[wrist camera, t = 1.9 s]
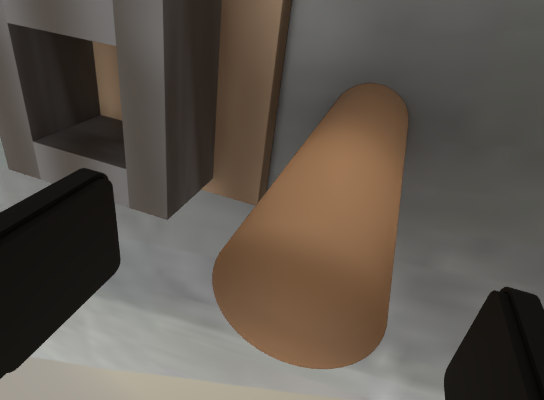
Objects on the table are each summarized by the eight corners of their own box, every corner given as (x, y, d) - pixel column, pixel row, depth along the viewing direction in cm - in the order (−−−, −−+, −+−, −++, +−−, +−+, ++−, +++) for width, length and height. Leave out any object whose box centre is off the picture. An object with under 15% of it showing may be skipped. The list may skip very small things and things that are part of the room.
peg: (419, 92, 19) (413, 262, 7) (395, 165, 21) (360, 391, 9) (339, 75, 20) (216, 203, 8) (323, 148, 22) (208, 333, 10)
